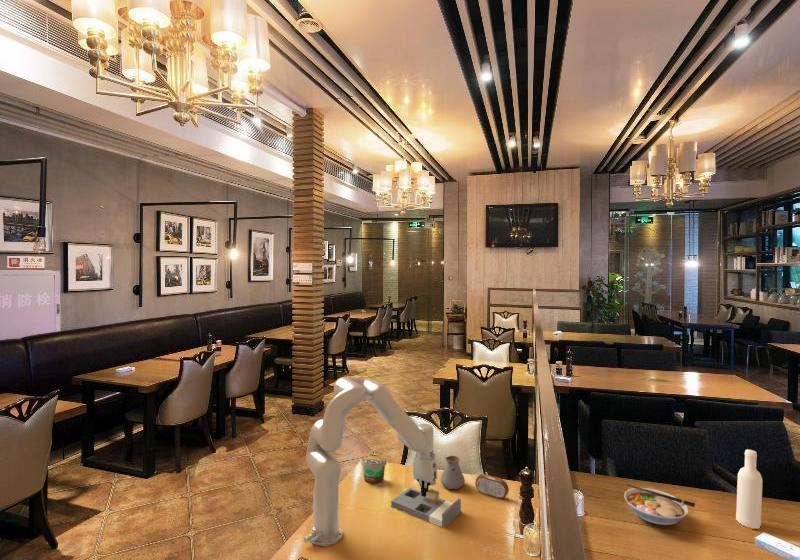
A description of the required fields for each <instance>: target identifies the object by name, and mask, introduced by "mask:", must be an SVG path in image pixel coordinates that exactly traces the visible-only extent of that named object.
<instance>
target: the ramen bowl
mask: <svg viewBox="0 0 800 560" xmlns="http://www.w3.org/2000/svg"><path fill="white" fill-rule="evenodd" d="M626 486H628V487H630V488H629V489H627V490H626V491H624V497H623V498H624V499H625V501H626V503H627V504H628V506H629V508H630V509H631V511H632V512H633V513H634V514H635V515H637V516H638V517H640V518H641V519H642V520H644V521H647V522H649V523H653V524H655V525H661V526H668V525H669V526H670V525H675V524H678V523H679V522H680V521H682V520H683V519H684V518H685V517H686V516H687V515H688V514H689V508H688V506H689V507H692V508H695V506H696V503H695V502H692V501H689V500H685V499H680V498H678V497H677V496H675V495H672V494H671V493H668V492H665V491H662V490H658V489H655V488H648V487H639V486H638V487H637V486H634V485H629V484H626Z"/></svg>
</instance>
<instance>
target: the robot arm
mask: <svg viewBox="0 0 800 560" xmlns="http://www.w3.org/2000/svg"><path fill="white" fill-rule="evenodd" d="M333 392H334V395H335V396H334V397H333V398H332V399H331V400H330V401H329V402H328V404H327V405H326V408H325V410H324V415H323V418H321V419H318V420H317V421H315V422H314V423H313V425H312V427H311V429H310V431H309V432H310V433H309V437H308V442H307V449H306V453H305V454H306V455H305V462H306V466H307V467H308V469H310V471H311V472H312V474H313V475H314V483H313V489H312V490H313V491H312V496H313V497H312V498H313V499H312V504H313V506H312V507H313V509H312V510H313V511H312V512H313V513H312V514H313V515H312V516H313V517H312V518H313V520H312V521H313V526H312V527H311V528H310V529H311V530H310V532H309V534H308V535H305V537H303V541H304V543H306V544H307V543H308V542H311V543H312V544H313V545H315V546H318V547H319V546H320V547H329V546H332V545H335V544H337V543H339V542H340V541H341V540H342V538H343V536H344V533H343V532H344V531H343V528H342V527H341V526H339V525H340V524H339V521H340V520H339V519H340V518H339V510H340V509H339V508H340V507H339V503H340V502H339V495H340V494H339V485H340V477H341V465H340V462H339V459H337V458H336V456H334V454H333V453H335V452H337V451H338V450H339V449H340V448H341V446H342V443H343V438H344V432H345V427H346V421H347V417H348V415H349V413H350V411H352V409H353V408H355V407H357V406H358V405H360V403H362V402H363V400H364V399H365V400H366V401H368V402H369V403H370V404H371V405H372V407H373V408H374V409H375V410H376V412H377V413H378V414H379V415H380V417H381V418H382V420H383V421H384V422H385V423H386V424H387V425H388V426H389V427H391V428H392V429H393V430H395V431H396V432H397V433H396V437H397V439H398V441H399V442H400V443H401V444H402V445H404V446H406V447H407V448H408V449H409V450H411V451H413V452H415V455H414V459H413V465H412V475H413V479H414V480H415V481H417V482H418V484H419V487H420V491H421V496H423V497H425V496H426V492H428V491H429V490H430V488H429V487H430V486H435V485H437V481H436V480H437V479H438V466H437V459H436V455H437V454H436V453H435V451H434V427H433V425H431V424H429V423H420V424H416V422H414V420H412V418H411V417H410V416H409V415H408V414H407V412H406V411H404V410H403V408H402V407H401V406H400V404H398V402H397V400H396V399H395V398H394V396H393V395H392V394H391V392H390V391H389V389H388V388H387V387H386V386H385V385H384V384H382V383H381V382H378V381H377V380H375V379H372V378H362V377H361V378H360V377H348V376H346V377H344V376H343V377H340V378H338V380H336V381H335V383H334V385H333Z"/></svg>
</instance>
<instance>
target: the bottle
mask: <svg viewBox="0 0 800 560" xmlns="http://www.w3.org/2000/svg"><path fill="white" fill-rule="evenodd" d="M757 457H758V454H757V451H755V450H753V449H745V451H744V466H743V467H741V468H740V469H739V471H738V473H737V485H736V508H735V509H736V512H735V521H736V520H737V521H738V522H739V523H741V524H742V525H745V526H747V527H751V528H760V526H761V527H762V507H763V506H762V503H763V502H762V501H763V499H762V498H763V477H762V474H761V473H760V471H758V469H757ZM760 529H761V528H760Z"/></svg>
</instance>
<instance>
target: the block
mask: <svg viewBox="0 0 800 560" xmlns="http://www.w3.org/2000/svg"><path fill="white" fill-rule="evenodd" d="M439 498H440V491H439V490H437V489H434V488H429V491H428V492H426V502H429V503H432V504H436V503H437V502H438V501H439Z"/></svg>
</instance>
